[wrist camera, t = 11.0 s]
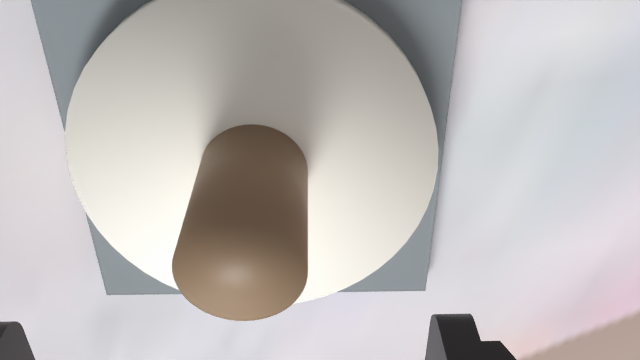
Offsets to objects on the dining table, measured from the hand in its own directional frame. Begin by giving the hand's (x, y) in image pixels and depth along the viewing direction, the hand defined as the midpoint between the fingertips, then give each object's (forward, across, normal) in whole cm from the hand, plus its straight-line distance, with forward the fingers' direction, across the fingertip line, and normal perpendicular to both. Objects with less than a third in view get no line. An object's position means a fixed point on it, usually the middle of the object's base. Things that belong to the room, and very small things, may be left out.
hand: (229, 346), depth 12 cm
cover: (+8, 0, 0) cm, 8 cm away
